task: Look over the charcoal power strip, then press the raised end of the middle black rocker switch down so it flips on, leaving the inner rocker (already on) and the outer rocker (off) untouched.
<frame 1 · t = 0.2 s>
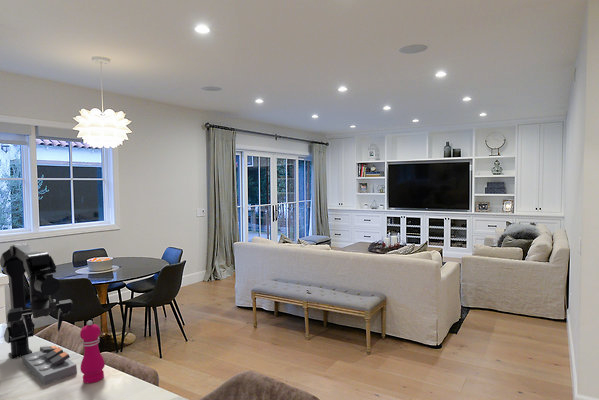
hand: (43, 334, 139), 14 cm above the table, tool pointing down, fingers open, 9 cm apart
rocker outer: (60, 359, 141), point 4 cm above the table, hinge at 15.0°
rocker middle: (54, 355, 144), point 4 cm above the table, hinge at 15.0°
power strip: (49, 368, 143), on the table
pepper mill: (93, 379, 135), on the table
rocker inner: (49, 350, 149), point 4 cm above the table, hinge at -15.0°
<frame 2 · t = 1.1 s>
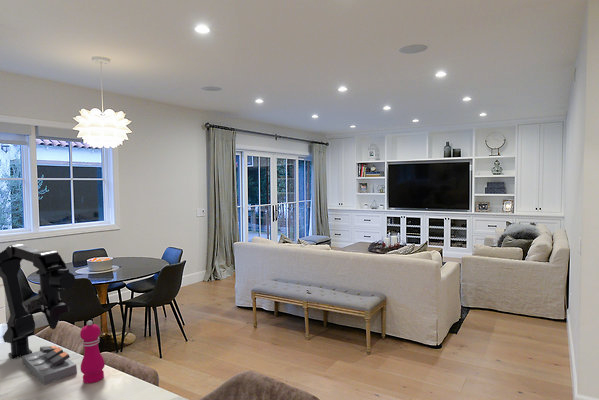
hand: (52, 328, 147), 13 cm above the table, tool pointing down, fingers closed
nothing on the table moved.
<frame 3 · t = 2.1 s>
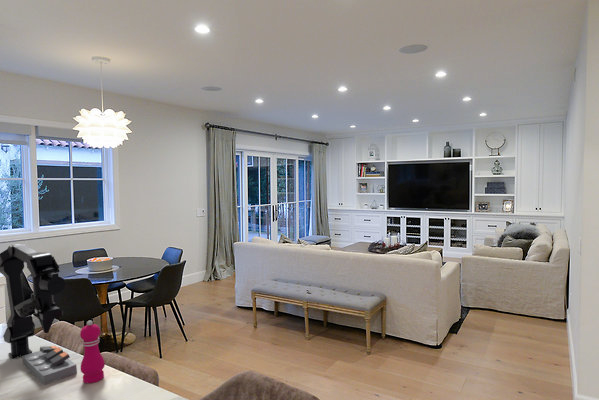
hand: (46, 332, 143), 13 cm above the table, tool pointing down, fingers closed
nothing on the table moved.
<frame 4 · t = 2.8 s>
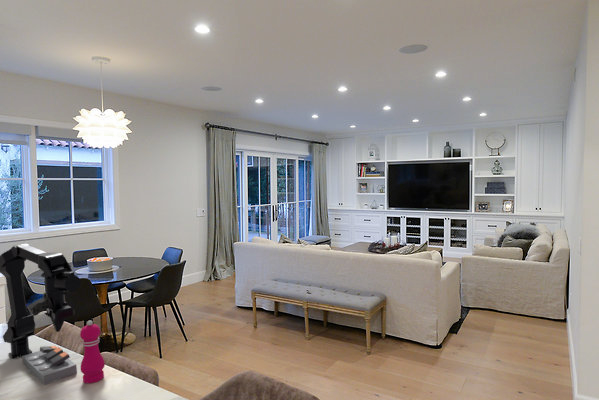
hand: (57, 331, 145), 12 cm above the table, tool pointing down, fingers closed
nothing on the table moved.
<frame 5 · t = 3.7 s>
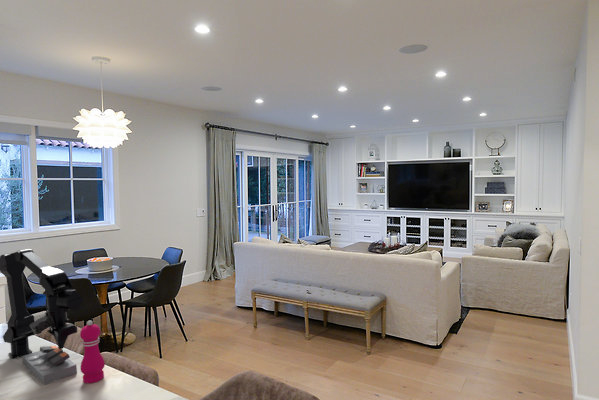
hand: (61, 348, 146), 6 cm above the table, tool pointing down, fingers closed, pressing on rocker middle
rocker middle: (54, 355, 144), point 4 cm above the table, hinge at 14.7°, touching gripper
everything else where it was.
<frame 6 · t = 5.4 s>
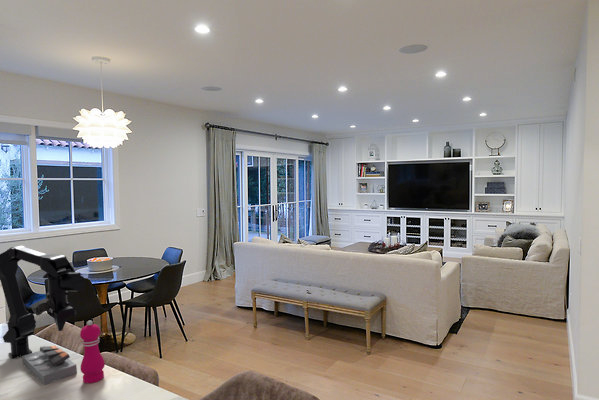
hand: (60, 330, 150), 11 cm above the table, tool pointing down, fingers closed
rocker middle: (54, 354, 145), point 4 cm above the table, hinge at -5.1°
everything else where it was.
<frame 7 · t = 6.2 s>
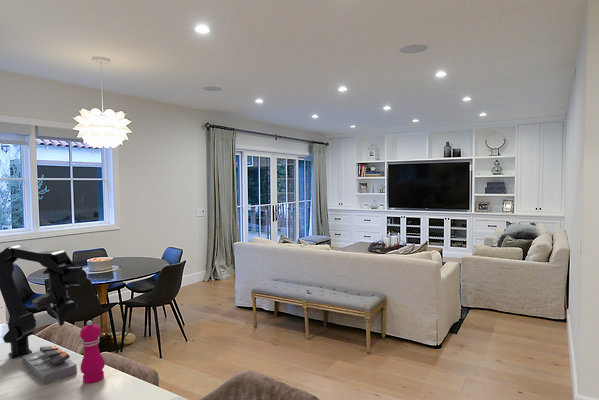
hand: (61, 325, 152), 12 cm above the table, tool pointing down, fingers closed
rocker middle: (54, 354, 145), point 4 cm above the table, hinge at -9.6°
everything else where it was.
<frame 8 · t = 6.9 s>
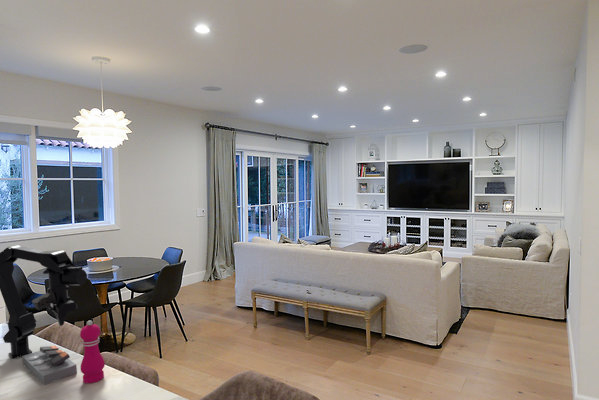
hand: (61, 325, 152), 12 cm above the table, tool pointing down, fingers closed
rocker middle: (54, 354, 145), point 4 cm above the table, hinge at -12.9°
everything else where it was.
at the end: rocker middle at -13° (first picture: +15°); rocker inner at -15° (first picture: -15°); rocker outer at +15° (first picture: +15°) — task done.
